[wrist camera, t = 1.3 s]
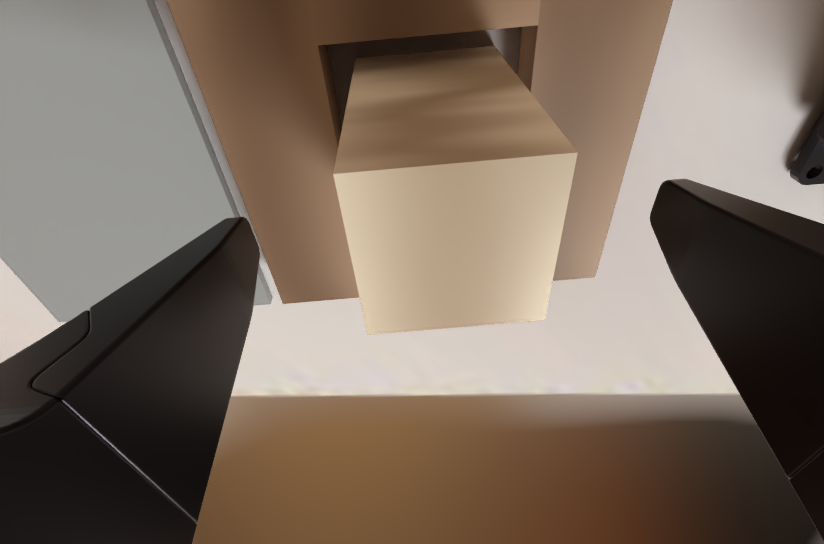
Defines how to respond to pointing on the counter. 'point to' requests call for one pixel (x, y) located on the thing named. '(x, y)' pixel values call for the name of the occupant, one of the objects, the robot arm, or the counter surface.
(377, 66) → the block
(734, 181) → the counter surface
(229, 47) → the pocket board
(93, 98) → the mat
